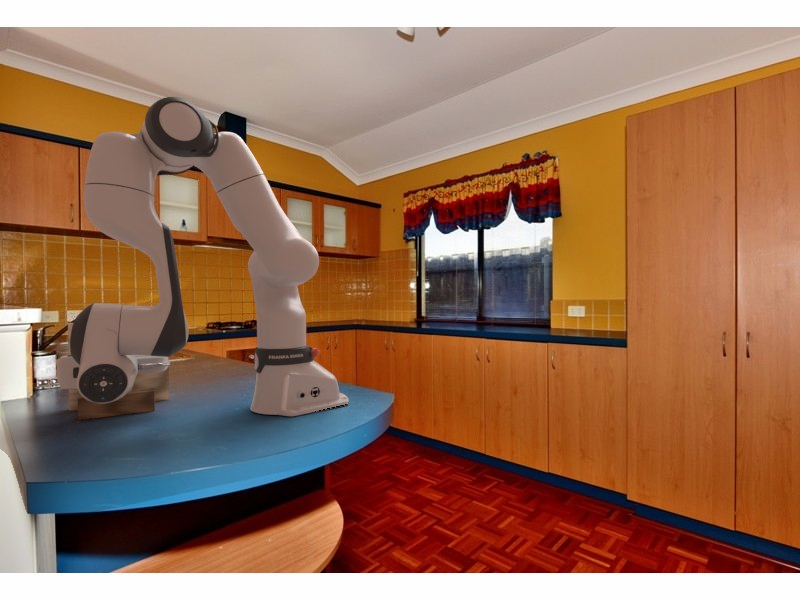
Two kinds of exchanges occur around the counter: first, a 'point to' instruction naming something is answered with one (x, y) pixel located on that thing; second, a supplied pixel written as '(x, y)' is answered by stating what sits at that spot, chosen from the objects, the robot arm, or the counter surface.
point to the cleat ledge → (118, 405)
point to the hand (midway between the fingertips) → (118, 359)
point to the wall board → (142, 382)
